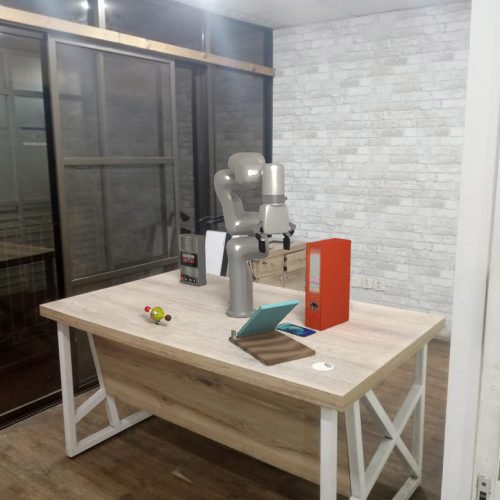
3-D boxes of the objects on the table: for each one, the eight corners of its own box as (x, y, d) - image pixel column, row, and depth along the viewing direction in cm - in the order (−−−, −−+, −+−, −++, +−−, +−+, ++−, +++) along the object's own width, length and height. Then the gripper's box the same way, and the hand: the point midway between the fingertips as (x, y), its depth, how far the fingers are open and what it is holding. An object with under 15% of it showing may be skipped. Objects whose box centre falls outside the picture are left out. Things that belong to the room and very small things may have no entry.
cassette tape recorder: (179, 282, 269) (177, 234, 265) (187, 280, 274) (186, 233, 269) (198, 286, 260) (196, 237, 256) (206, 284, 265) (205, 235, 261)
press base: (229, 341, 182) (229, 329, 182) (273, 332, 191) (273, 321, 190) (267, 366, 160) (267, 352, 159) (315, 355, 168) (315, 342, 168)
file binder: (349, 321, 203) (351, 239, 197) (321, 331, 191) (322, 245, 186) (332, 316, 209) (334, 237, 203) (304, 326, 197) (305, 242, 191)
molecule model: (139, 320, 207) (138, 303, 206) (152, 317, 211) (151, 301, 210) (163, 331, 194) (162, 313, 193) (176, 327, 197) (175, 310, 196)
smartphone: (303, 336, 185) (273, 326, 196) (303, 338, 185) (273, 329, 196) (317, 331, 190) (286, 322, 201) (317, 333, 190) (286, 324, 201)
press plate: (237, 338, 181) (235, 334, 182) (271, 331, 188) (270, 327, 189) (262, 309, 164) (260, 305, 164) (299, 303, 170) (297, 299, 171)
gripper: (288, 199, 182) (289, 247, 185) (245, 201, 174) (247, 252, 176) (301, 199, 176) (301, 249, 178) (256, 201, 168) (258, 254, 170)
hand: (274, 251), depth 177 cm, fingers open, 9 cm apart
